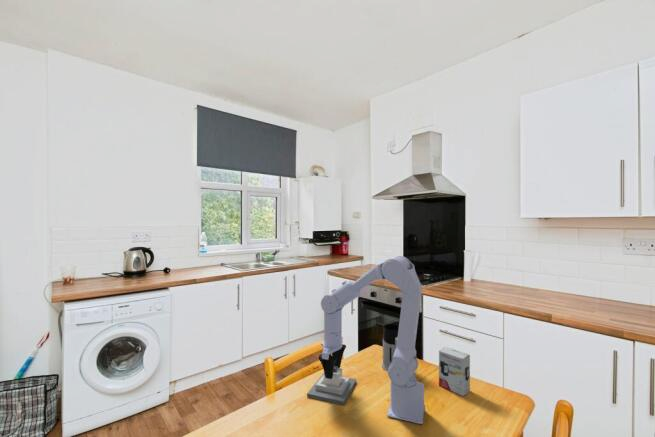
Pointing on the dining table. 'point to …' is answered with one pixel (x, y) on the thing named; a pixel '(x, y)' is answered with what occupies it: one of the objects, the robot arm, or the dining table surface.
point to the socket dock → (332, 390)
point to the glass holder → (389, 343)
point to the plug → (334, 378)
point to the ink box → (454, 370)
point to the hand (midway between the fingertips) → (333, 372)
